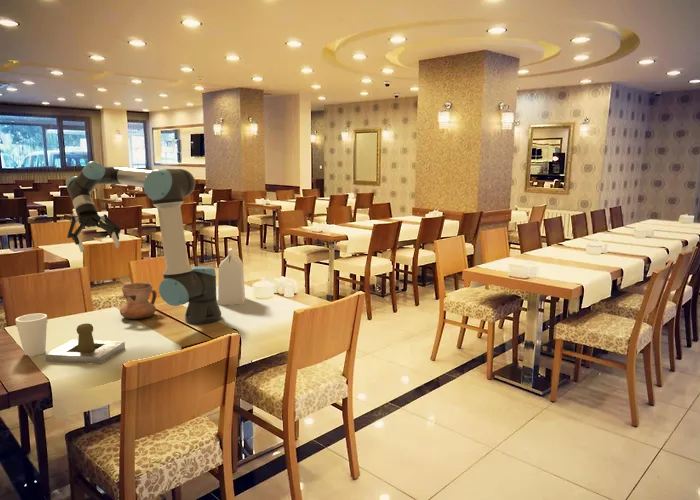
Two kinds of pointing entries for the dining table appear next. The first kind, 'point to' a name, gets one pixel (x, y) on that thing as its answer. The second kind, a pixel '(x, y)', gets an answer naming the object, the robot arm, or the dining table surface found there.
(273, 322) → the dining table surface
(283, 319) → the dining table surface
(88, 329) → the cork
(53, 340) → the dining table surface
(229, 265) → the milk
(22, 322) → the foam cup
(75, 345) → the plate
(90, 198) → the robot arm
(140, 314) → the ceramic jug
